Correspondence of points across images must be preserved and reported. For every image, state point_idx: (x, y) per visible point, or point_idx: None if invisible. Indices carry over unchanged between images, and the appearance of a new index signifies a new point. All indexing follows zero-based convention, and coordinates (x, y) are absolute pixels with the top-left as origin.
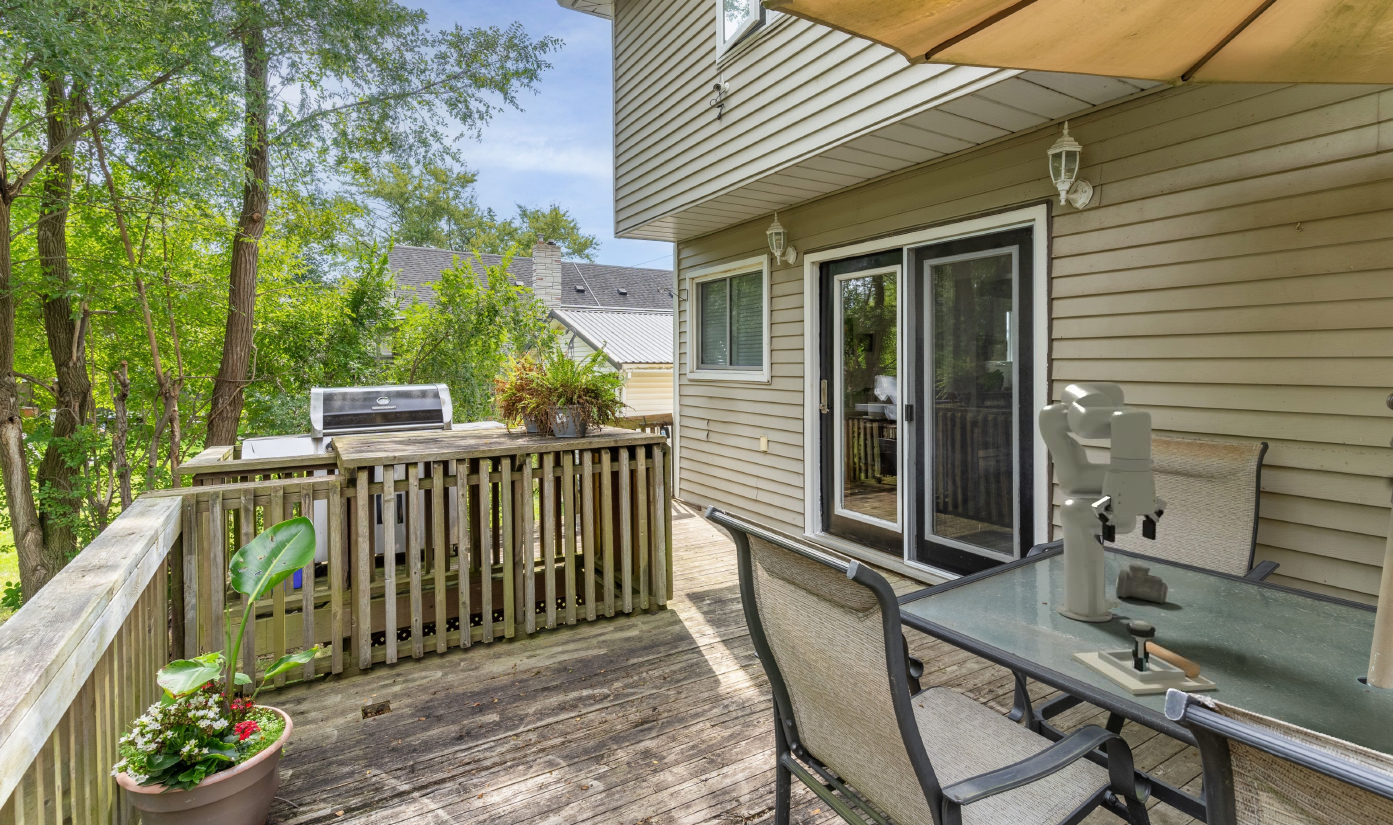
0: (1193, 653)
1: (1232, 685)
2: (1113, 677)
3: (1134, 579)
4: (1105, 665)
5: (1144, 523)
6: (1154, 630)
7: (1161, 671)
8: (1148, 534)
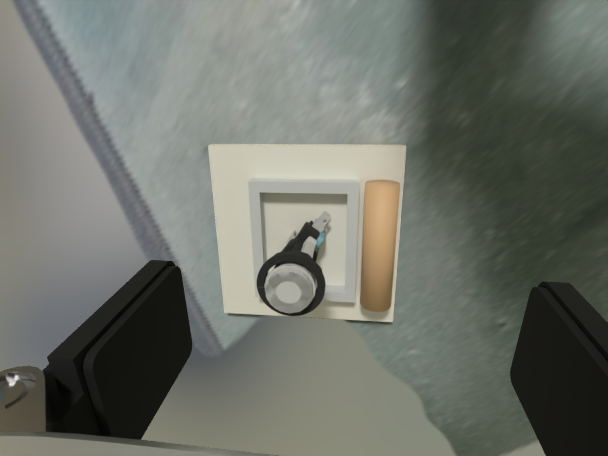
0: (524, 161)
1: (436, 311)
2: (221, 267)
3: None
4: (242, 216)
5: (602, 409)
6: (307, 312)
7: None
8: (533, 368)
